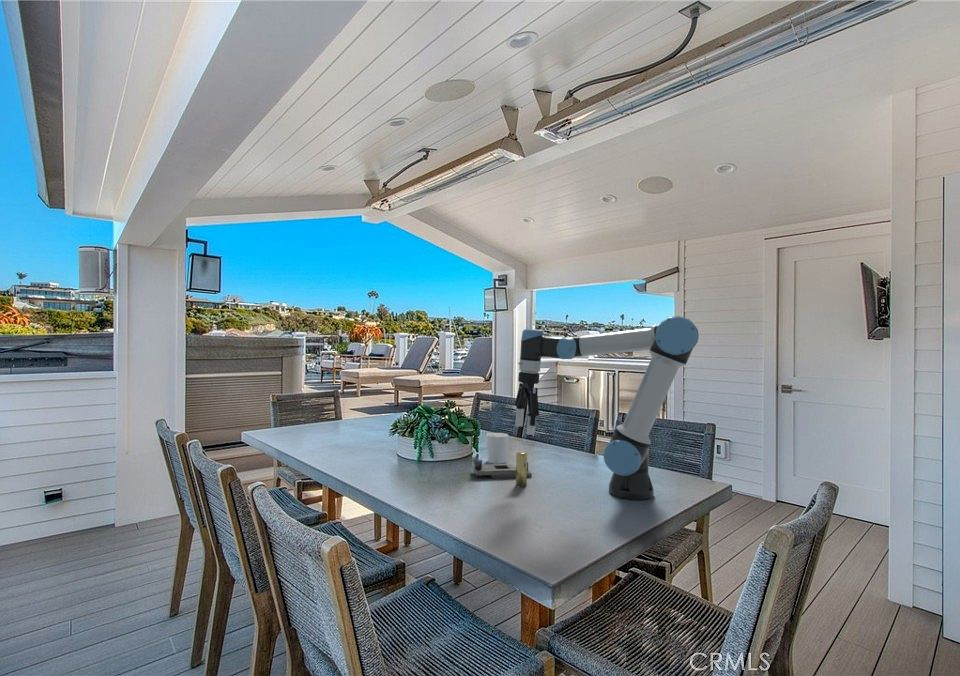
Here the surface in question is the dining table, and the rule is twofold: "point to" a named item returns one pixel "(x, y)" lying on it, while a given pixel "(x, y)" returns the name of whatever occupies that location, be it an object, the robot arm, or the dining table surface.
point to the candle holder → (497, 447)
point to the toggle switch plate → (496, 470)
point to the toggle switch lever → (521, 469)
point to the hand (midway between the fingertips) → (524, 430)
